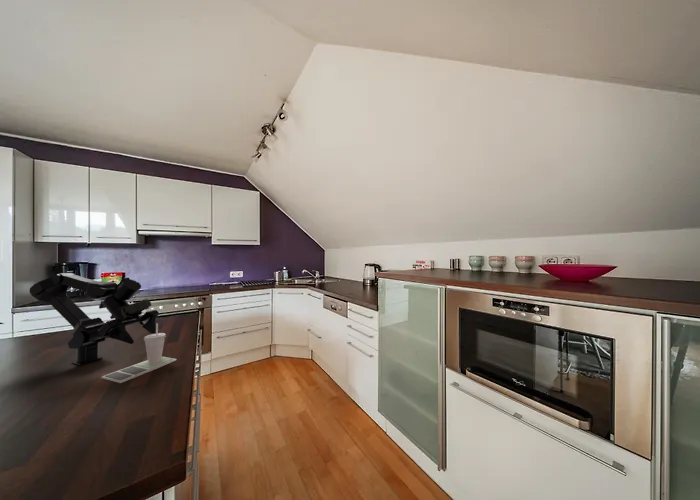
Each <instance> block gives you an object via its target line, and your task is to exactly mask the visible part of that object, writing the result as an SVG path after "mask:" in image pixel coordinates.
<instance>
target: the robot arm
mask: <svg viewBox="0 0 700 500" xmlns="http://www.w3.org/2000/svg"><path fill="white" fill-rule="evenodd" d="M69 288H72V289H75V290H79V291H83V292H84V293H85V294H86V296H88V297H89V298H92V299H94V300H99V299H104V298H105V299H104V300H102V301H101V300H100V304H99V305H98V306H99V307H98V309H100V310H101V309H105V308H106V310H107V311H108V313H110V316H109V317H110V319H111V320H107V321H106V322H104V321H103V320H102V318H101V317H99V316H98V317H94V318H91V317H89V316H88V315H87V314H86V312H84V311H83V310H82V309H81V308H80V307H79V306H78V305H77V304H76V303H75V302H74V301H73V300H72V299H71V298H70V297H69V296H68V295H67V294H68V289H69ZM141 288H142V285H141V283H140V282H138V281H136V280H134V279H131V278H129V277H123V278H122V279H121V280H120V282H119V283H117V282H114V281H104V280H103V281H99V280H94V279H90V278H87V277H84V276H81V275H76V274H75V273H73V272H63V273H62V272H61V273H55V274H54V275H52V276H49V277H48V278H45V279H41V280H40V281H37V282H36V283H34V284H33V285H32V286H31V287H30V288H29V294H30V295H31V296H32V297H33V298H35V299H36V300H37V301H39V302H43V303H47V304H50V305H51V307H52V308H53V309H54V310H55V311H56V312H57V313H59V314H60V316H62V318H64V320H65V321H66V322H67V323H68V324H70V325H71V327H73V331H72V338H71V339H70V340H69V341H68V342H67V346H68V349H71V350H72V349H76V355H75V356H76V359H75V360H72V361H70V362H71V363H72V364H75V365H78V366H82V365H85V364H88V363H91V362H95V361H99V360H101V359H104V356H100V355H99V343H102V342H106V339H109V338H110V339H113V340H117V341H120V342H123V343H127V344H130V345H133V344H134V343H135V341H134V339H133V337H132V336H131V334H129V332H128V331H127V329H126V327H127V326H131V325H134V324H135V325H136V324H138V323H139V324H140V325H142V326H141V327H142V328H143V329H145V331H147V332H149V333H150V335H151V334H156V319H158V317H159V315H160V312H159V311H158V310H156V309H152V310H148V309H150V307H152V302H151V301H150V300H149V299H148V298H145V299H142V300H140V301H137V302H133V303H131V304H130V303H129V302H128V301H129V300H131V299H132V298H133V297H134V296H135V295H136V294H137V293H138V292H139V291H140V290H141ZM145 310H148V311H145ZM143 311H145V313H143ZM141 315H142V316H141Z"/></svg>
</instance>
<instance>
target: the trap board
mask: <svg viewBox="0 0 700 500" xmlns="http://www.w3.org/2000/svg"><path fill="white" fill-rule="evenodd" d="M176 361H177V358H172V357H167V356H162V358H161V361H160V362H158V363H155V364H148V359H146V360H144V361H142V362H138V363H136V364H132V365H131V366H127V367H124V368H122V369H119V370H116V371H113V372H111V373H108V374H105V375H103V376H101V377H100V378H101V379H102V380H106V381H110V382H115V383H118V384H123V383H124V382H127V381H129V380H132V379H134V378H137V377H140V376H141V375H145V374H147V373H149V372H152V371H154V370H156V369H159V368H162V367H164V366H167V365H169V364H172V363H174V362H176Z"/></svg>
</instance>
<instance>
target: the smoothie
mask: <svg viewBox="0 0 700 500" xmlns="http://www.w3.org/2000/svg"><path fill="white" fill-rule="evenodd" d="M155 325H156V334H151V333H150V334H148V335H146V336H144V337H143V341H144V343H145V348H146V349H145V350H146V355H147V356H146V357H147V360H148V364H155V363H158V362H160V361H161V358H162V357H163V356H162V355H163V351H164V350H163V349H164V344H165V338H166V337H167V336H166V333H164V332H159V323H155Z"/></svg>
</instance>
